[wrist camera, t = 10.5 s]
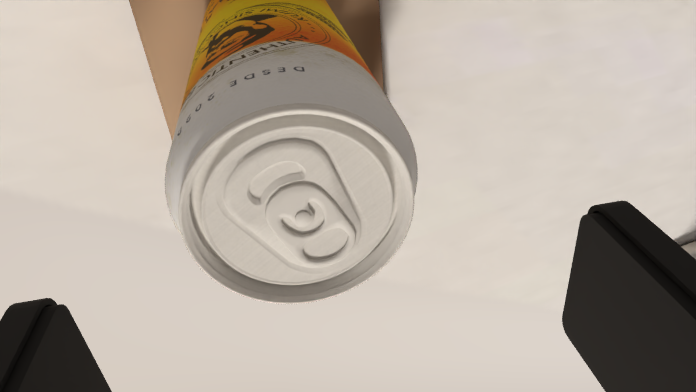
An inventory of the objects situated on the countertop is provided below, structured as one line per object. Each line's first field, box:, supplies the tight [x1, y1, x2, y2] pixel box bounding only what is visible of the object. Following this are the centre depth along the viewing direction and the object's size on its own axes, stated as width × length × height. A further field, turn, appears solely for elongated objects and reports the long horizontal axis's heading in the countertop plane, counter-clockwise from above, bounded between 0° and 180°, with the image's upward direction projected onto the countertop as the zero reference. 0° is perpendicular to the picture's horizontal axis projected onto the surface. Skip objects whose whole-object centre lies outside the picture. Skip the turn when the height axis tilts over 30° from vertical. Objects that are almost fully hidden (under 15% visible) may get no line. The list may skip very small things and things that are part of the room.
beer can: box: [165, 0, 417, 304], centre depth 18 cm, size 6×6×15 cm
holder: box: [129, 0, 383, 141], centre depth 22 cm, size 11×13×6 cm
